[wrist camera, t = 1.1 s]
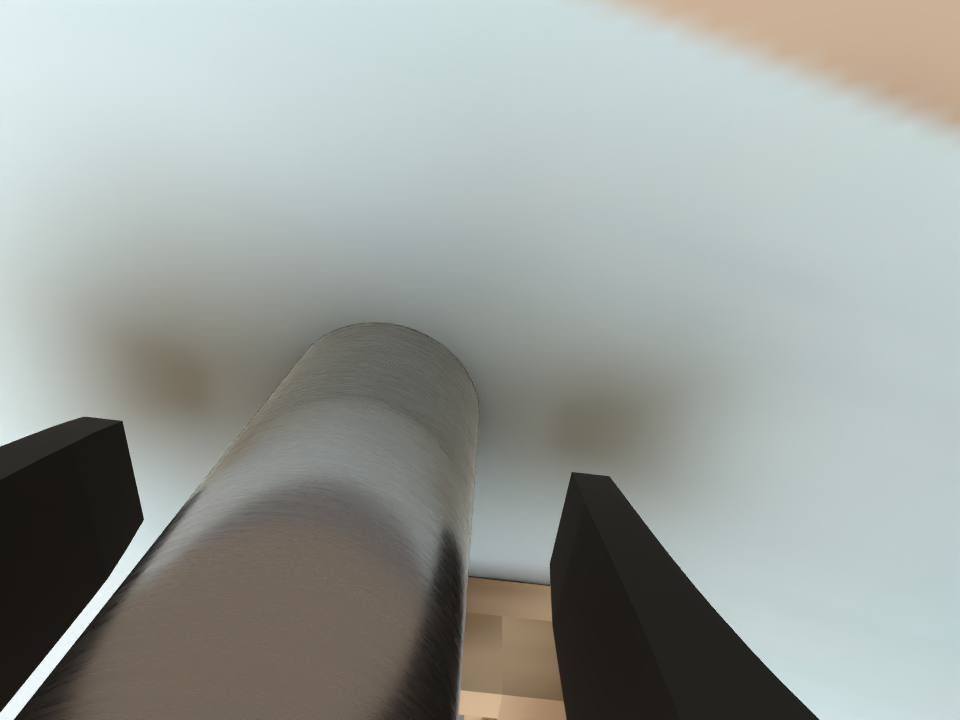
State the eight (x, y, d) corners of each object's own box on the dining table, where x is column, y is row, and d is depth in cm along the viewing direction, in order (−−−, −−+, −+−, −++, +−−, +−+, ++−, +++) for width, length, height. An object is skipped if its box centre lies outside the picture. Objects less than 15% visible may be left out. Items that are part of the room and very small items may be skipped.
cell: (490, 335, 10) (458, 1063, 2) (468, 496, 12) (409, 1218, 4) (284, 311, 10) (-419, 979, 2) (292, 476, 12) (-99, 1174, 4)
